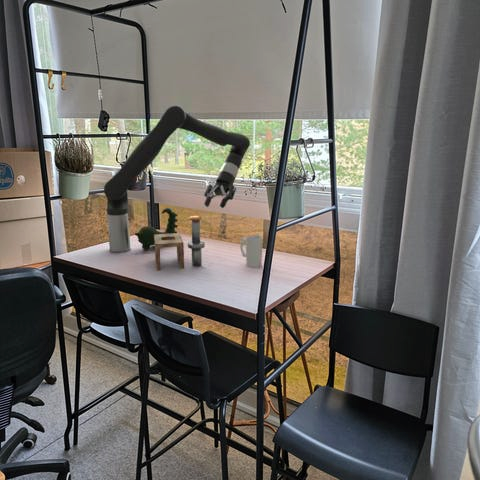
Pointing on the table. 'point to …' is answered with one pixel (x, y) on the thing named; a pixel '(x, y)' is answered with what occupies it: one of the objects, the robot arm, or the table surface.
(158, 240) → the wooden block with hole
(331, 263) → the table surface
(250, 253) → the mug
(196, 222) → the pin
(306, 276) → the table surface
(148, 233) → the toy figurine
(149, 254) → the table surface
